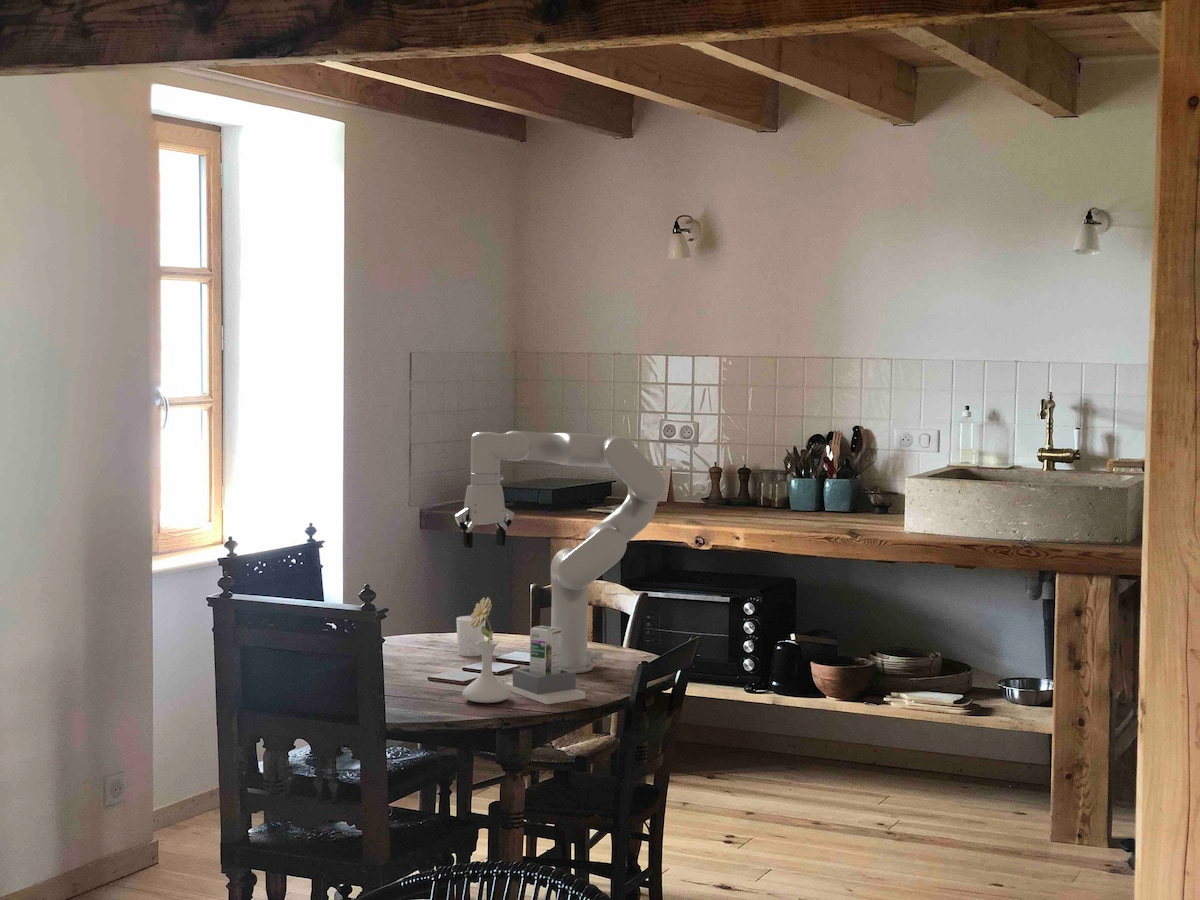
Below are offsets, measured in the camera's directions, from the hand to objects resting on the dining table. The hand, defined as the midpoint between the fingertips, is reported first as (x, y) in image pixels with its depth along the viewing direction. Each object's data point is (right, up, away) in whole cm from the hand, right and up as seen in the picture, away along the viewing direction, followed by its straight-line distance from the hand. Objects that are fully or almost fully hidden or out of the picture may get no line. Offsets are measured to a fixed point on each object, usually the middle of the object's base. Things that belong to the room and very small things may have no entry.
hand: (484, 546), depth 353 cm
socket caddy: (+16, -34, -23) cm, 44 cm away
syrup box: (+17, -33, -23) cm, 43 cm away
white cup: (-6, -31, +23) cm, 39 cm away
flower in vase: (+3, -34, -32) cm, 47 cm away
